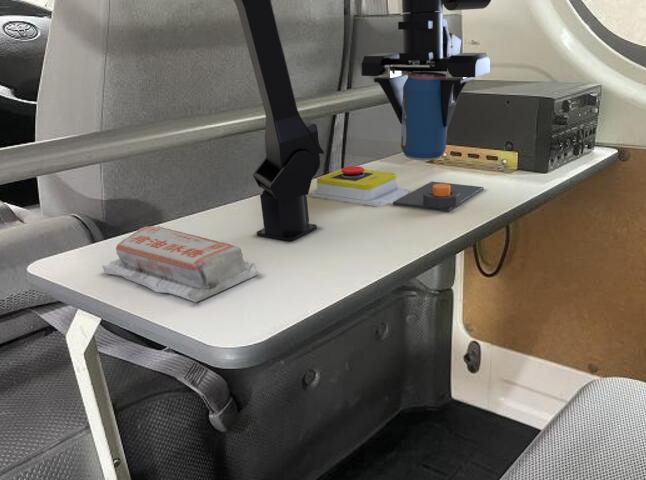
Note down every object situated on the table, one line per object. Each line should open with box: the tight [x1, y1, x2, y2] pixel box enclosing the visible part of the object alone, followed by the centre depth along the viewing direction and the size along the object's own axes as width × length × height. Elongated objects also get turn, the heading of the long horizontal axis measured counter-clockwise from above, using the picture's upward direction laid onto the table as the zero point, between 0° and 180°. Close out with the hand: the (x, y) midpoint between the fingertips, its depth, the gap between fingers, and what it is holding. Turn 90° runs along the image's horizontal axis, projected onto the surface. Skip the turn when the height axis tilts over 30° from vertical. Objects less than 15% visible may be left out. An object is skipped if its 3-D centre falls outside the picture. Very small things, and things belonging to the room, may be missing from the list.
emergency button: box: [310, 165, 409, 207], centre depth 108 cm, size 9×4×15 cm
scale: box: [392, 181, 485, 213], centre depth 104 cm, size 14×10×2 cm
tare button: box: [433, 184, 450, 196], centre depth 99 cm, size 3×3×2 cm
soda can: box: [400, 71, 448, 161], centre depth 95 cm, size 7×7×12 cm
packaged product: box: [101, 225, 258, 303], centre depth 77 cm, size 18×5×10 cm
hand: (424, 125), depth 95 cm, fingers closed on soda can, 7 cm apart
